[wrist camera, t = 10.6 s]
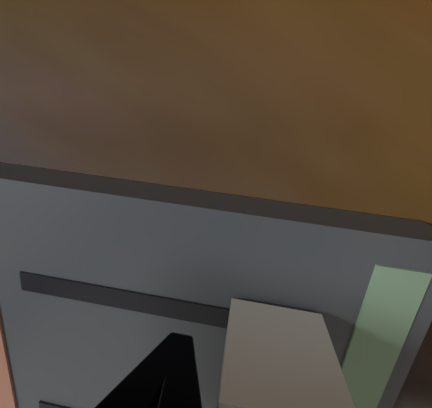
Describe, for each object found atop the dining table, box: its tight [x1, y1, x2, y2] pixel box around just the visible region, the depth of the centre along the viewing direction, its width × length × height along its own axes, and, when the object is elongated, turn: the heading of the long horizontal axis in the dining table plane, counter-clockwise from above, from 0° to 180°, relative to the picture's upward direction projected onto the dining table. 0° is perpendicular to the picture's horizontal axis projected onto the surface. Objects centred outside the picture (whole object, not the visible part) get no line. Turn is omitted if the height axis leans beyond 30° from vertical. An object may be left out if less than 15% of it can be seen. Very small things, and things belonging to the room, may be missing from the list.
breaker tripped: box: [217, 298, 355, 408], centre depth 7 cm, size 3×2×4 cm, turn 84°
